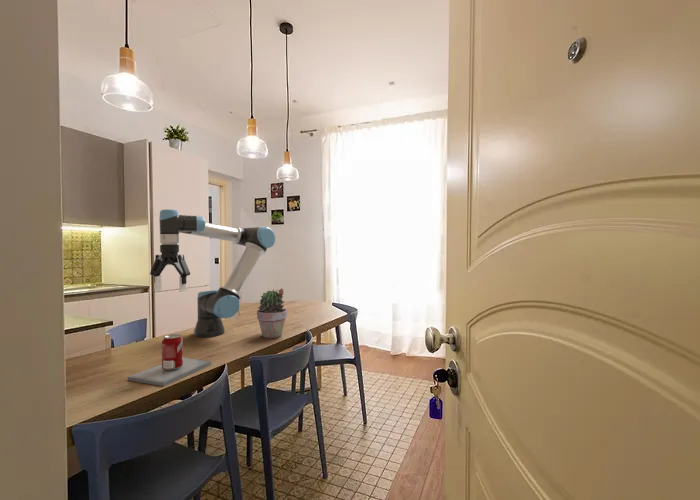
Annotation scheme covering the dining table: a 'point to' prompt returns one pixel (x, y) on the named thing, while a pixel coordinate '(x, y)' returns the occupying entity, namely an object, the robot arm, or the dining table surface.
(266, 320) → the potted plant
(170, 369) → the soda can
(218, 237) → the robot arm
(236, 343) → the dining table surface
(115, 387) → the dining table surface
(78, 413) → the dining table surface
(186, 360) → the slate board
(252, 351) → the dining table surface
